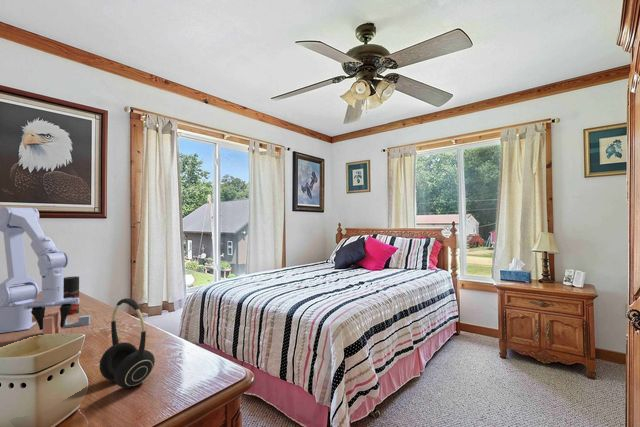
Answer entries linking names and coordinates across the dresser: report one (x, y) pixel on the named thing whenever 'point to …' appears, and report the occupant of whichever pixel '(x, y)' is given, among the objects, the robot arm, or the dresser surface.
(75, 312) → the deodorant
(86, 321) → the grey block
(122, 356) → the headphones
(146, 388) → the dresser surface
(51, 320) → the pink rectangular block
